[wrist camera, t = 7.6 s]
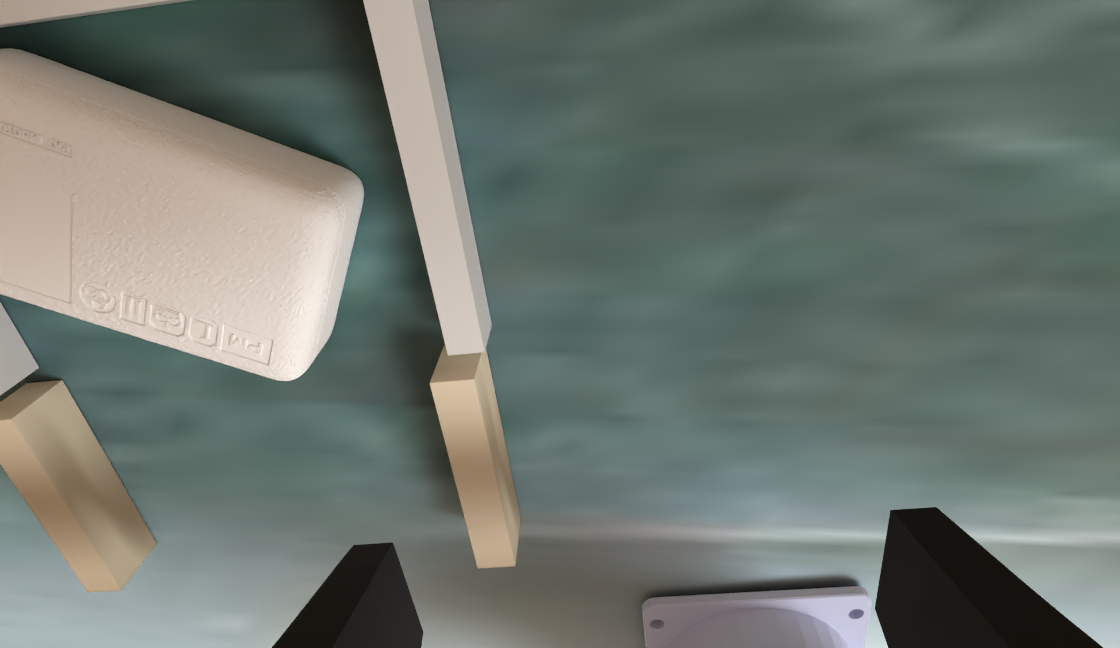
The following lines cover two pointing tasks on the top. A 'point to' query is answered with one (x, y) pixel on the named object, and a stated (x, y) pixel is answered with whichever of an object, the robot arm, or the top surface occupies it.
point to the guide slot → (120, 532)
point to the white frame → (422, 146)
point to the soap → (168, 221)
